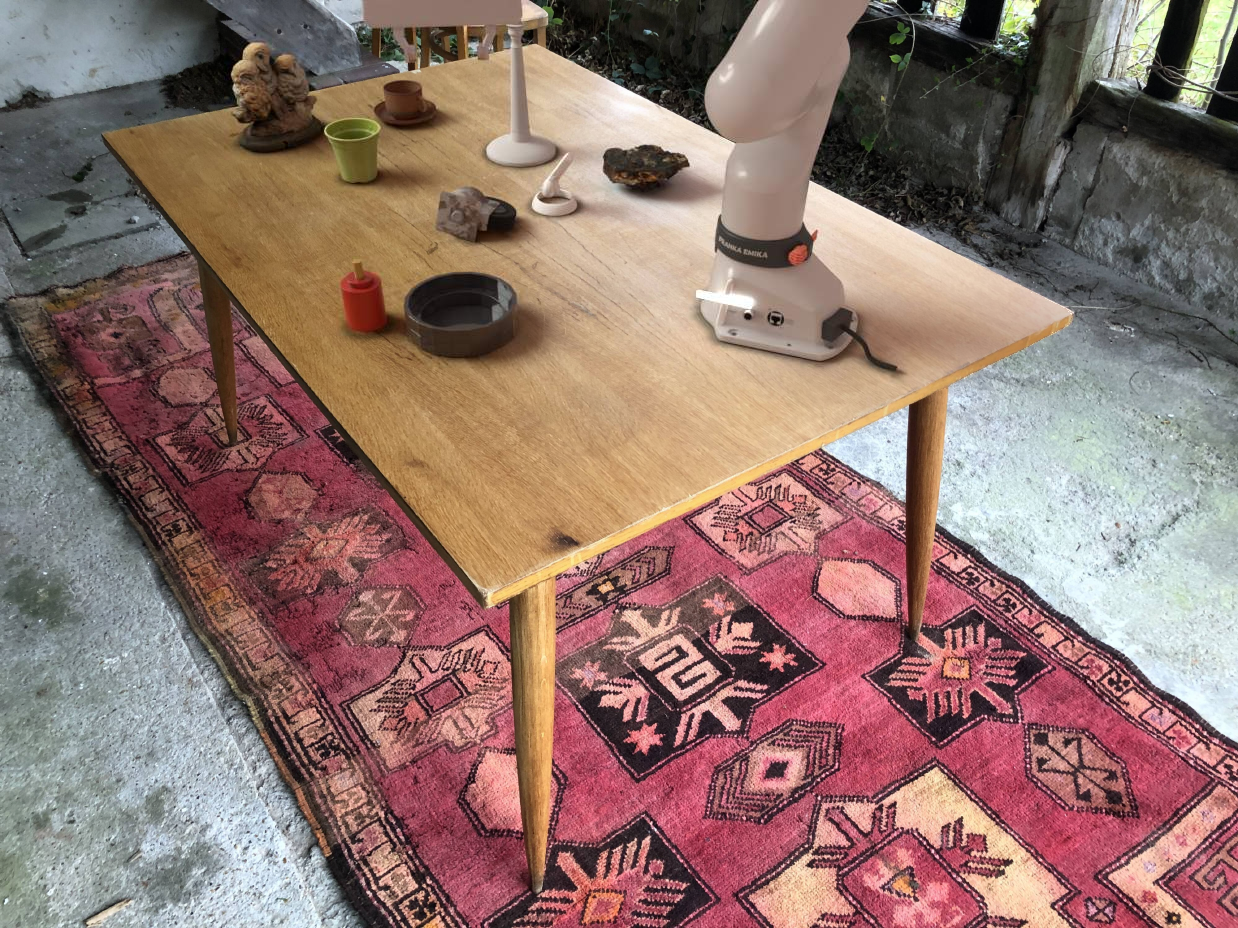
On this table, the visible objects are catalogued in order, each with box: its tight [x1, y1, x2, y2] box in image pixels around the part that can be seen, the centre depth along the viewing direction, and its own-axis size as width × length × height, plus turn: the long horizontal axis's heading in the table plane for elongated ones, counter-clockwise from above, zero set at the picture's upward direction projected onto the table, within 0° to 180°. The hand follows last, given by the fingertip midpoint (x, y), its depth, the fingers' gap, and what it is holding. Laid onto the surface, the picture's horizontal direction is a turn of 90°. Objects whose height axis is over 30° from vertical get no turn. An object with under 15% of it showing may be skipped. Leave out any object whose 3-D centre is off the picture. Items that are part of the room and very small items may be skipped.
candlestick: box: [486, 19, 557, 168], centre depth 172 cm, size 13×13×30 cm
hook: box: [531, 152, 578, 217], centre depth 163 cm, size 8×12×7 cm
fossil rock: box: [602, 143, 691, 193], centre depth 171 cm, size 14×14×6 cm
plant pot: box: [323, 117, 382, 184], centre depth 170 cm, size 9×9×9 cm
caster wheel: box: [434, 186, 518, 243], centre depth 158 cm, size 7×11×10 cm
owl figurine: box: [230, 42, 323, 153], centre depth 179 cm, size 18×12×17 cm, turn 148°
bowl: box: [403, 271, 519, 358], centre depth 135 cm, size 15×15×5 cm
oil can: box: [339, 258, 388, 333], centre depth 133 cm, size 5×5×10 cm
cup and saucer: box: [373, 79, 437, 126], centre depth 191 cm, size 12×12×6 cm
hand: (447, 60), depth 129 cm, fingers open, 8 cm apart
